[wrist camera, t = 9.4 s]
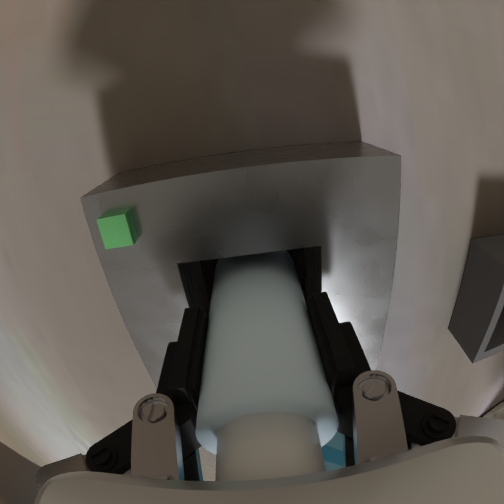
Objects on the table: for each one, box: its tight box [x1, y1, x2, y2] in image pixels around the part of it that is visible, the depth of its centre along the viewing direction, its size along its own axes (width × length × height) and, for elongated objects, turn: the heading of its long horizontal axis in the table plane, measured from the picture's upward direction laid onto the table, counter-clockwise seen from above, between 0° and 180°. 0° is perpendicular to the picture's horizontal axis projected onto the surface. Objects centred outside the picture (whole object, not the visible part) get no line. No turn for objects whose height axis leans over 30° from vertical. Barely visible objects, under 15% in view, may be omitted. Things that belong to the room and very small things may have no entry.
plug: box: [195, 250, 339, 481], centre depth 10 cm, size 4×4×12 cm
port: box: [80, 142, 401, 388], centre depth 14 cm, size 12×12×5 cm
